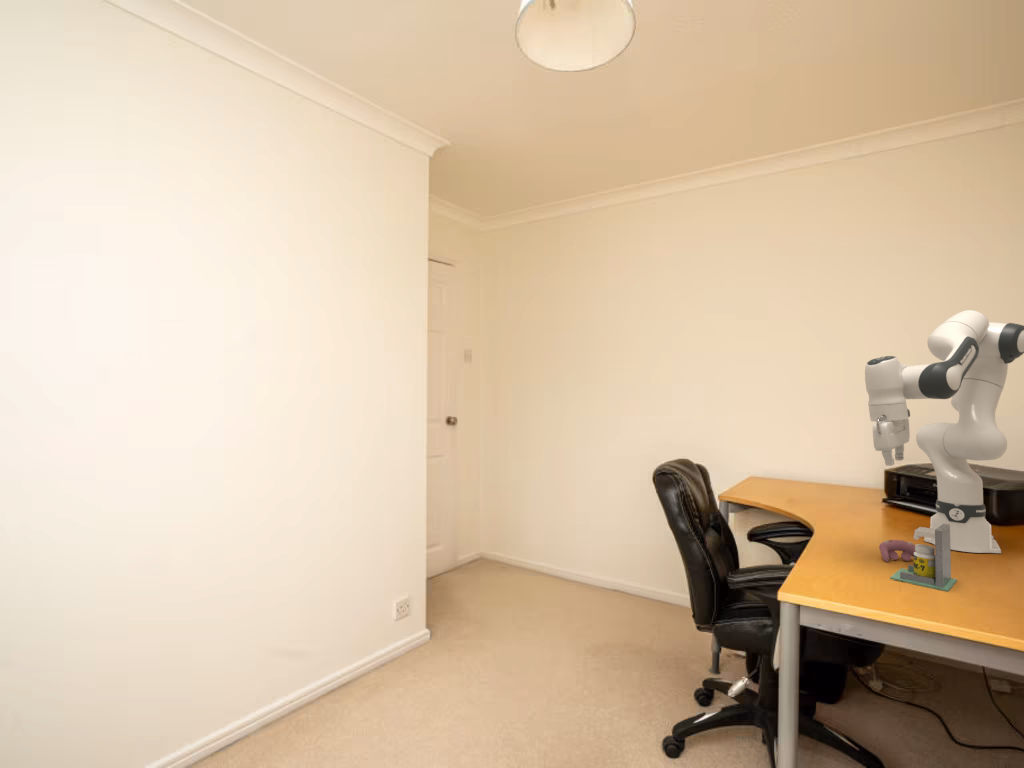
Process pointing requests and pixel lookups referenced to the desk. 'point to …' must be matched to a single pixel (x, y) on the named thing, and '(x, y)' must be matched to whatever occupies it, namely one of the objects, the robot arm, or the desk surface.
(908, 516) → the desk surface
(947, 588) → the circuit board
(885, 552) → the video game controller
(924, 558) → the supplement bottle
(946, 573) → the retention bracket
